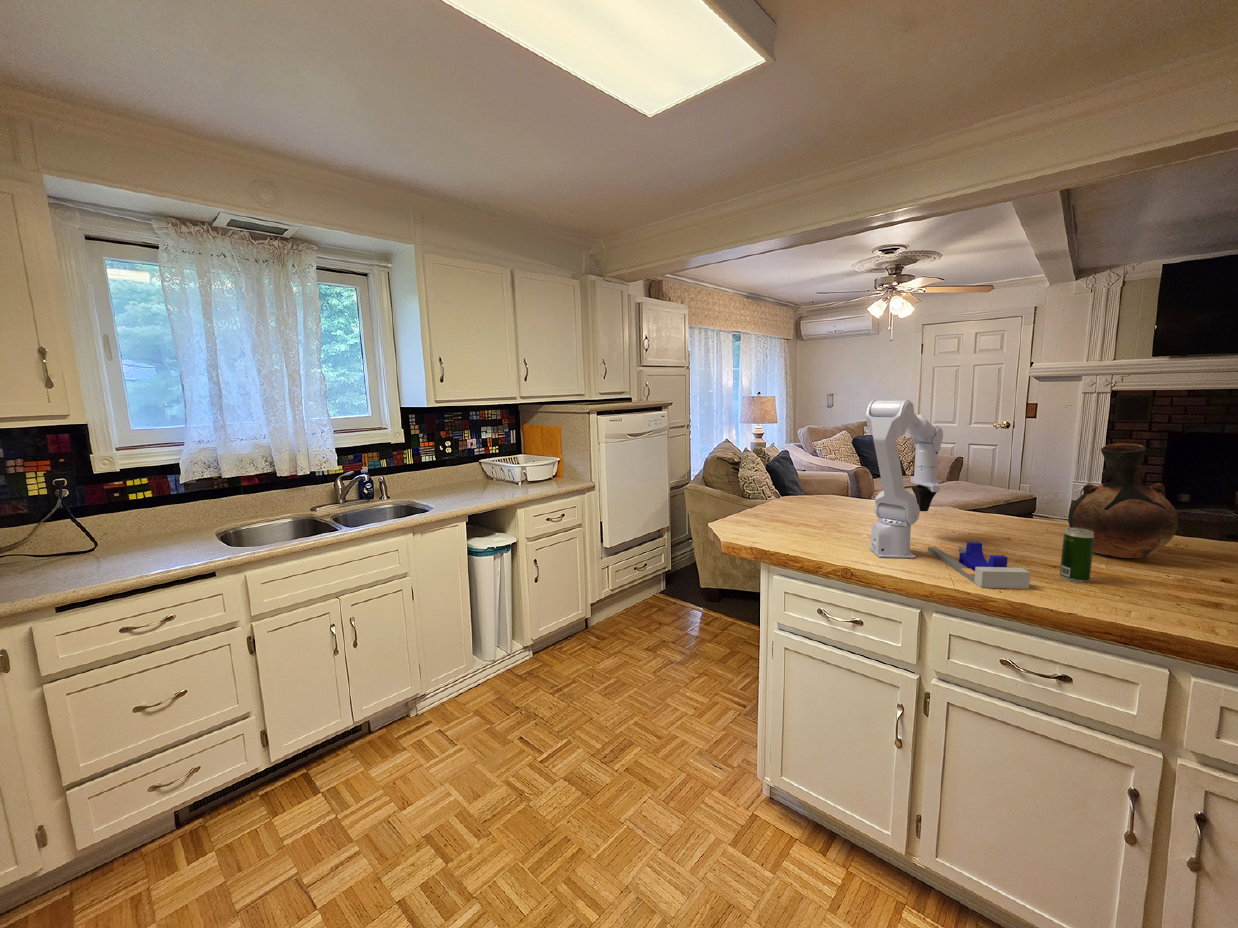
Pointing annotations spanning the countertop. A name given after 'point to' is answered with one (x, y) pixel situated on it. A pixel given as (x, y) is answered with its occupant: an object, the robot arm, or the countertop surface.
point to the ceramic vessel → (1125, 507)
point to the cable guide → (987, 573)
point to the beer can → (1077, 554)
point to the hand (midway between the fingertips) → (923, 510)
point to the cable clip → (980, 557)
